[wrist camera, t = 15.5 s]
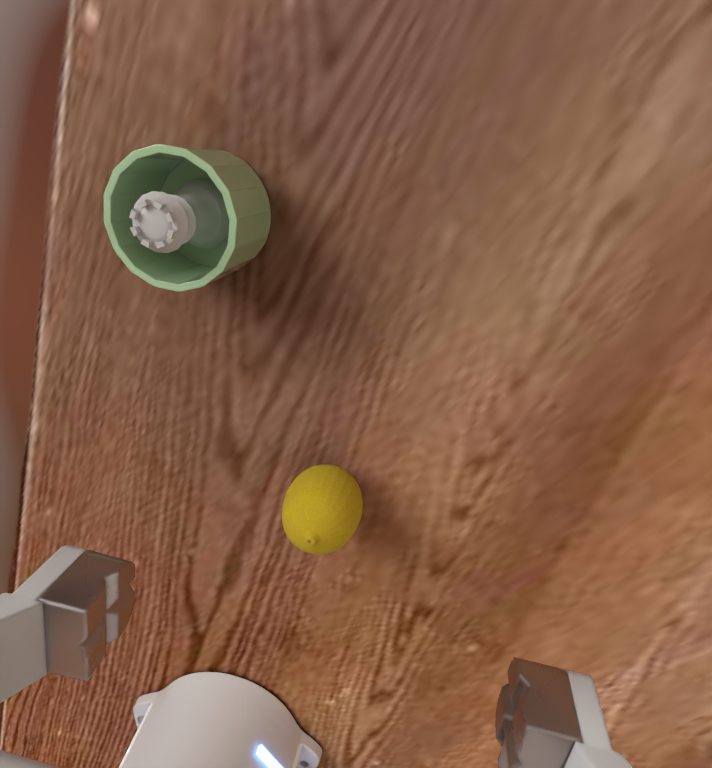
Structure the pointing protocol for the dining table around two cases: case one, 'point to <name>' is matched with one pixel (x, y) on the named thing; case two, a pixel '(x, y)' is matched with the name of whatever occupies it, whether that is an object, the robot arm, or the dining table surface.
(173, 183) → the cup
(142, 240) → the rook chess piece
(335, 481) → the lemon
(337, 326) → the dining table surface
